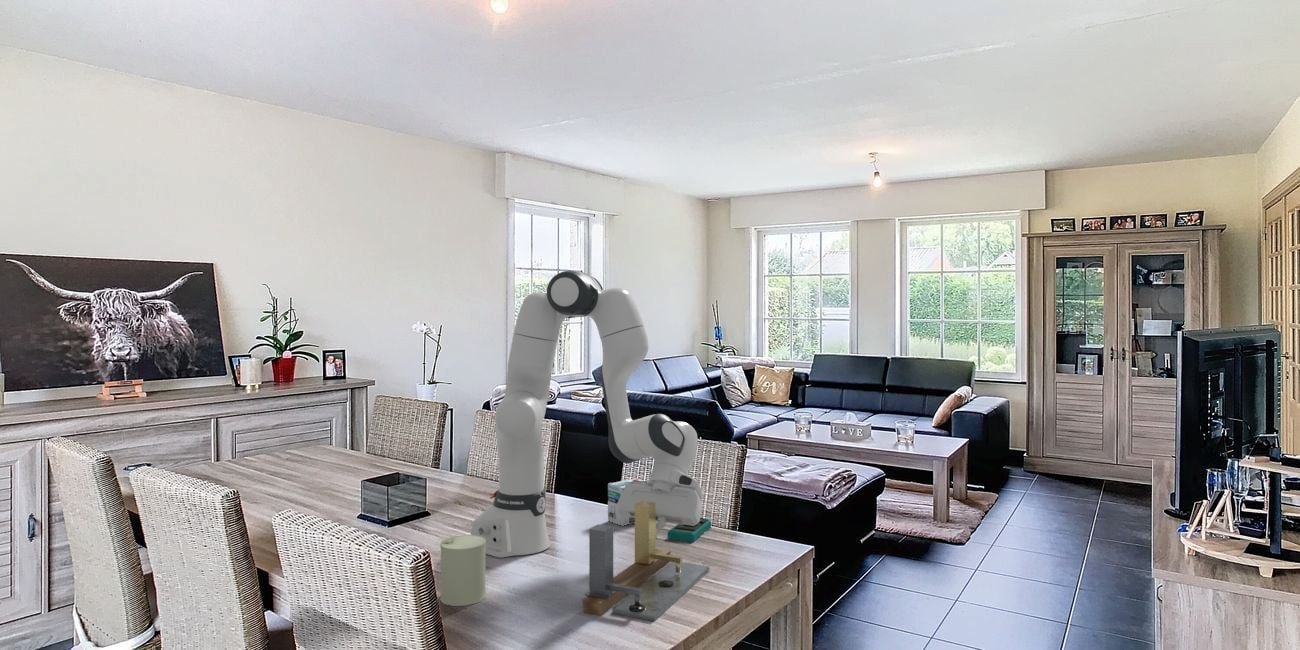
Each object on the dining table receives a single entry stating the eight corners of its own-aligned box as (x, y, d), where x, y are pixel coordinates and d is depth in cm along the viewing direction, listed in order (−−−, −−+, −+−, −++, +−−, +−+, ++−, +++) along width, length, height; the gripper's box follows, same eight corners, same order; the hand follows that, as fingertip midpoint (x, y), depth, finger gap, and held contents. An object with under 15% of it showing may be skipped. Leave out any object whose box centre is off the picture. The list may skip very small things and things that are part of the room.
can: (445, 589, 156) (444, 533, 155) (489, 588, 156) (489, 532, 156) (436, 607, 146) (435, 547, 146) (483, 605, 147) (482, 546, 147)
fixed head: (585, 600, 146) (585, 529, 145) (596, 592, 150) (596, 523, 149) (635, 610, 141) (635, 536, 141) (645, 601, 145) (645, 530, 145)
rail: (582, 612, 144) (582, 599, 144) (655, 558, 175) (655, 548, 175) (600, 615, 142) (600, 602, 142) (670, 561, 173) (670, 550, 173)
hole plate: (612, 613, 143) (612, 607, 143) (672, 564, 171) (672, 559, 171) (654, 621, 140) (654, 615, 140) (709, 570, 167) (709, 565, 167)
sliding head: (634, 567, 164) (634, 504, 164) (641, 562, 167) (641, 500, 167) (678, 574, 160) (678, 509, 159) (684, 569, 163) (684, 505, 163)
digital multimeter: (712, 528, 200) (712, 518, 200) (693, 544, 187) (693, 533, 187) (687, 525, 203) (687, 515, 203) (666, 541, 190) (666, 529, 190)
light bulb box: (621, 526, 201) (621, 487, 200) (606, 521, 206) (606, 483, 205) (651, 519, 208) (651, 481, 207) (635, 514, 213) (635, 477, 213)
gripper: (623, 472, 178) (604, 523, 169) (702, 480, 169) (686, 534, 161) (632, 486, 182) (613, 536, 174) (709, 495, 174) (694, 548, 165)
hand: (649, 535), depth 167 cm, fingers closed, pressing on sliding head
